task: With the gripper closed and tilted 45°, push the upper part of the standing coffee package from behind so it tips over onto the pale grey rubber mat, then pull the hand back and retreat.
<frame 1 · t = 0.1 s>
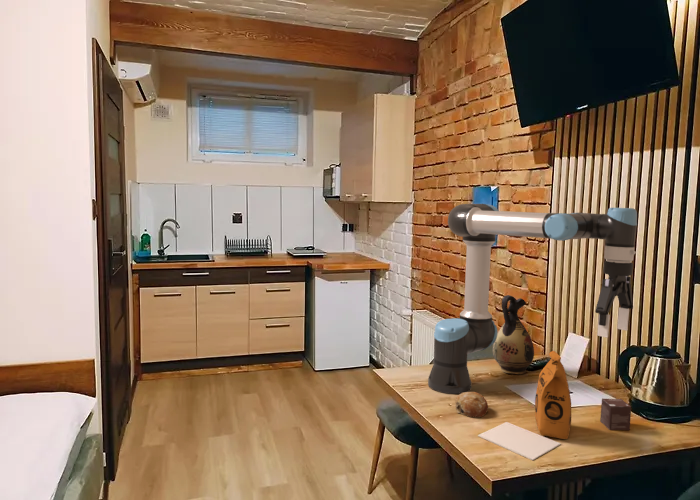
hand: (612, 333, 150), 28 cm above the table, tool pointing down, fingers open, 13 cm apart
box: (614, 426, 152), on the table
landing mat: (518, 440, 142), on the table
bread roll: (471, 411, 161), on the table
ceramic jug: (510, 371, 199), on the table
coffee package: (551, 430, 148), on the table, touching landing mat
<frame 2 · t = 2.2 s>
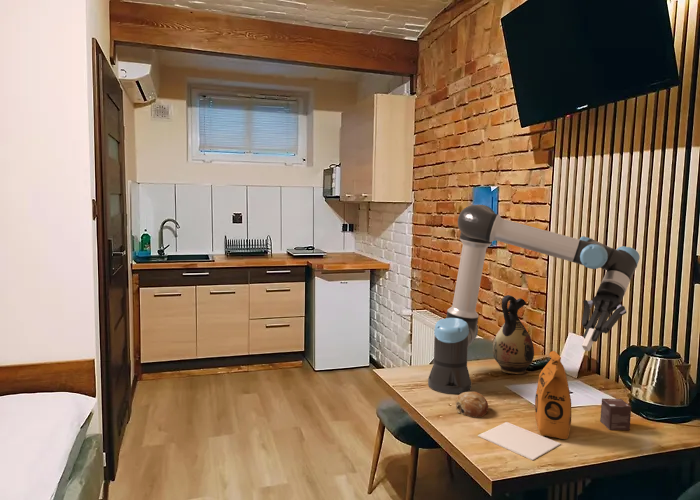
hand: (585, 348, 155), 22 cm above the table, tool tilted 45°, fingers closed
nothing on the table moved.
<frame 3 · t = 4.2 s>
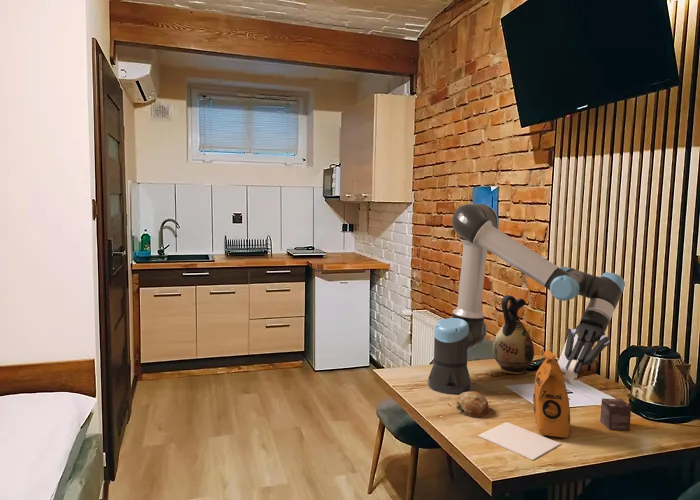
hand: (567, 380, 150), 14 cm above the table, tool tilted 45°, fingers closed
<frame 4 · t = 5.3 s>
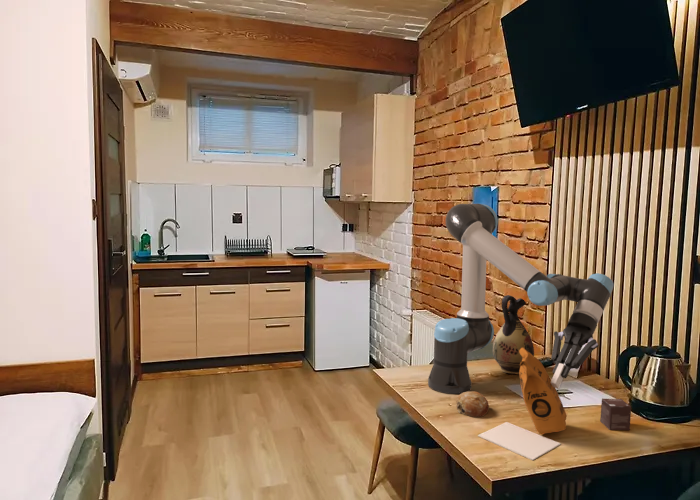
hand: (554, 385, 144), 14 cm above the table, tool tilted 45°, fingers closed
coffee package: (551, 423, 148), point 2 cm above the table, touching gripper, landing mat
everything else where it was.
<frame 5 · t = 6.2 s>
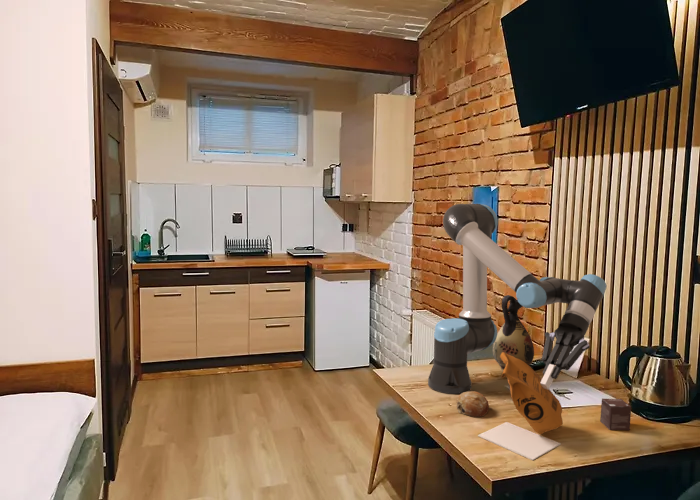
hand: (544, 386, 143), 15 cm above the table, tool tilted 45°, fingers closed
coffee package: (549, 418, 147), point 4 cm above the table, touching gripper, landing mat
everything else where it was.
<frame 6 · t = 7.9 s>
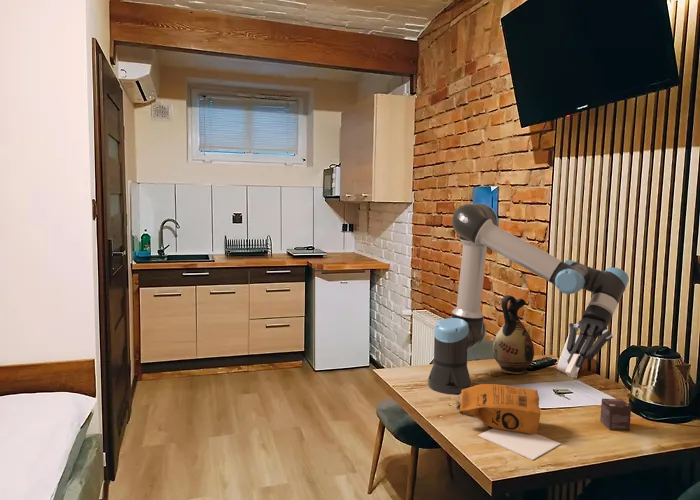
hand: (569, 374, 151), 15 cm above the table, tool tilted 45°, fingers closed
bread roll: (472, 410, 162), on the table, touching coffee package
coffee package: (538, 412, 148), point 5 cm above the table, touching bread roll, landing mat
everything else where it was.
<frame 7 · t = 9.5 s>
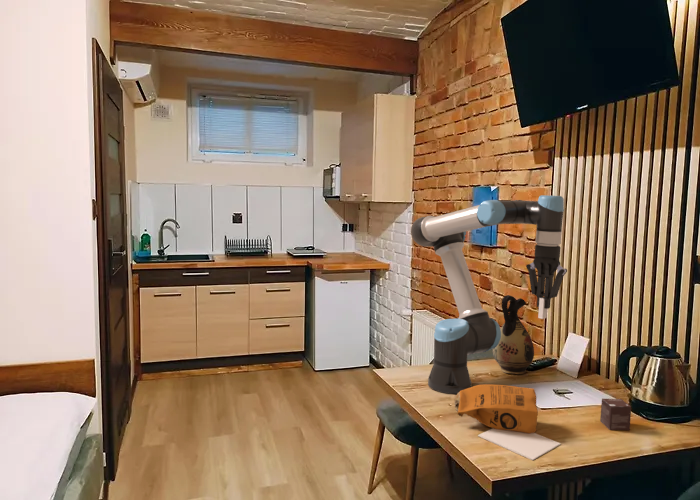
hand: (542, 317, 164), 29 cm above the table, tool pointing down, fingers closed
bread roll: (470, 409, 163), on the table, touching coffee package
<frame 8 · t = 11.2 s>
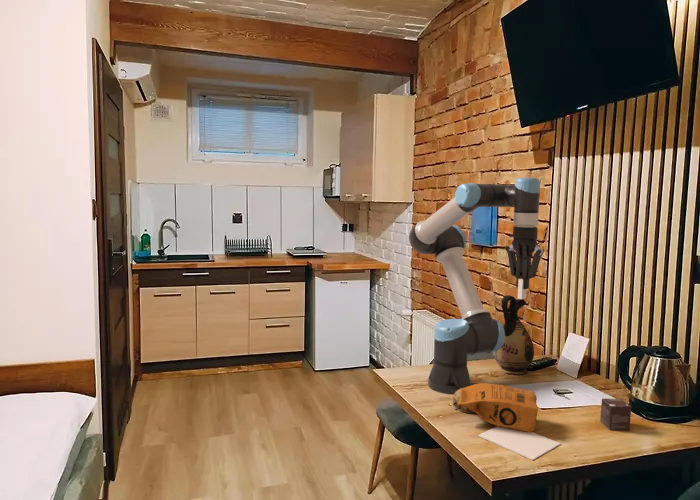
hand: (521, 298, 167), 34 cm above the table, tool pointing down, fingers closed
bread roll: (468, 407, 164), on the table, touching coffee package
coffee package: (535, 412, 150), point 4 cm above the table, touching bread roll, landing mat
everything else where it was.
at the end: coffee package tilted 85°; coffee package touching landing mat; coffee package inside the target area (10.2 cm from its centre), point 4.5 cm above the table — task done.
